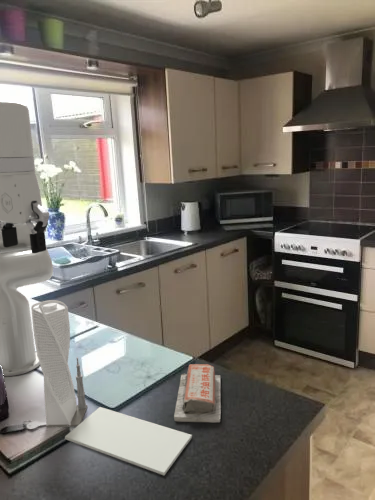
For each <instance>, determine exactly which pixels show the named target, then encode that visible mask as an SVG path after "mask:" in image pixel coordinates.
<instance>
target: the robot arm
mask: <svg viewBox="0 0 375 500" xmlns="http://www.w3.org/2000/svg"><path fill="white" fill-rule="evenodd" d="M31 129H32V128H31V119H30V111H29V108H28V106H27V105H26V104H25V103H23V102H19V101H12V100H10V101H9V100H7V101H5V100H0V365H1V366H2V369H3V374H4V376H3V377H11V376H12V377H13V376H19V375H23V374H26V373H30V372H32V371H33V370H35V369H36V368H38V367H39V366H40V362H39V359H38V355H37V351H36V345H35V338H34V331H33V321H32V313H31V308H30V307H31V306H30V303H29V300H28V298H27V297H26V296H25V295H24V293H23V294H22V292H20V291H19V290H18V288H22V287H26V286H30V285H35V284H40V283H45V282H47V281H49V280H50V279H51V278H52V277H53V274H54V266H53V262H52V258H51V256H50V252H49V250H48V248H47V243H46V233H45V232H47V228H48V225H49V219H50V212H49V211H48V210H47V209H45V208H44V206H43V203H42V198H41V191H40V187H39V182H38V178H37V175H36V166H35V165H36V164H35V157H34V148H33V137H32V130H31Z"/></svg>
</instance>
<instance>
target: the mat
mask: <svg viewBox="0 0 375 500" xmlns="http://www.w3.org/2000/svg"><path fill="white" fill-rule="evenodd" d="M192 437H193V434H189V433H187V432H184V431H180V430H178V429H177V430H176V429H174V428H170V427H167V426H164V425H160V424H157V423H154V422H151V421H147V420H144V419H140V418H137V417H135V416H130V415H129V414H128V415H127V414H125V413H121V412H118V411H114V410H112V409H108V408H105V407H101V406H99V407H98V408H97V409H95V410H94V411H93V412H92V413H90V414H89V415H88V416H87V417H86V418H85V419H84V420H82V422H81V423H80V424H79V425H78V426H76V427H73V429H72V430H71V431H70V432H68V433H67V434H66V435H65V436H64V439H65V440H67V441H69V442H73V443H74V444H77V445H79V446H83V447H86V448H88V449H91V450H93V451H97V452H99V453H102V454H104V455H106V456H107V455H108V456H111V457H113V458H115V459H118V460H120V461H123V462H126V463H129V464H131V465H134V466H137V467H140V468H143V469H144V470H145V469H146V470H148V471H151V472H153V473H157V474H158V475H162V476H165V475H166V474H167V472H168V471H169V469H170V468H171V467H172V466H173V464H174V463H175V461H176V460H177V459H178V457H180V455H181V453H182V452H183V450H184V449H185V448H186V446H187V445H188V444H189V443H190V441H191V440H192V439H193V438H192Z"/></svg>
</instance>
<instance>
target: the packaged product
mask: <svg viewBox="0 0 375 500" xmlns="http://www.w3.org/2000/svg"><path fill="white" fill-rule="evenodd" d="M177 391H178V392H177V397H176V398H177V399H176V402H175V410H174V414H173V419H174V422H185V423H188V422H189V423H220V422H221V413H222V412H221V411H222V409H221V408H222V405H221V401H222V400H221V375H220V374H219V375H218V374H216V372H215V366H213V365H210V364H207V363H205V364H204V363H203V364H200V363H195V364H194V363H193V364H191V363H190V364H189V365H188V368H187V373H185V372H184V373H181V374H180V381H179V387H178V390H177Z"/></svg>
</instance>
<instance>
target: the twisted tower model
mask: <svg viewBox="0 0 375 500" xmlns="http://www.w3.org/2000/svg"><path fill="white" fill-rule="evenodd" d="M30 307H31V308H30V310H31V322H32V330H33V338H34V346H35V351H36V352H37V355H38V359H39V362H40V365H39V366H40V369H41V372H42V374H43V393H44V394H43V396H44V412H45V413H44V414H45V424H46V425H45V426H46V428H69V427H70V428H71V427H73V428H76V427H77V426H78V425H79V424H80V423H82V422H83V419H84V417H85V414H86V411H87V409H88V404H87V403H86V396H85V395H86V392H85V387H84V381H83V376H84V375H83V374H82V373H81V364H80V363H79V357H78V356H77V357H76V367H75V368H76V375H75V380H76V391H75V388H74V383H73V377H72V374H71V371H70V367H69V362H68V361H69V355H70V346H71V344H70V343H71V326H70V317H69V316H70V315H69V307H68V306H67V304H65V303H64V302H63V301H60V300H57V299H56V300H55V299H48V300H44V301H40V302H36V303H34V304H32V305H31V306H30ZM76 393H77V394H76ZM76 398H77V399H76ZM77 402H78V403H77Z"/></svg>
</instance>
